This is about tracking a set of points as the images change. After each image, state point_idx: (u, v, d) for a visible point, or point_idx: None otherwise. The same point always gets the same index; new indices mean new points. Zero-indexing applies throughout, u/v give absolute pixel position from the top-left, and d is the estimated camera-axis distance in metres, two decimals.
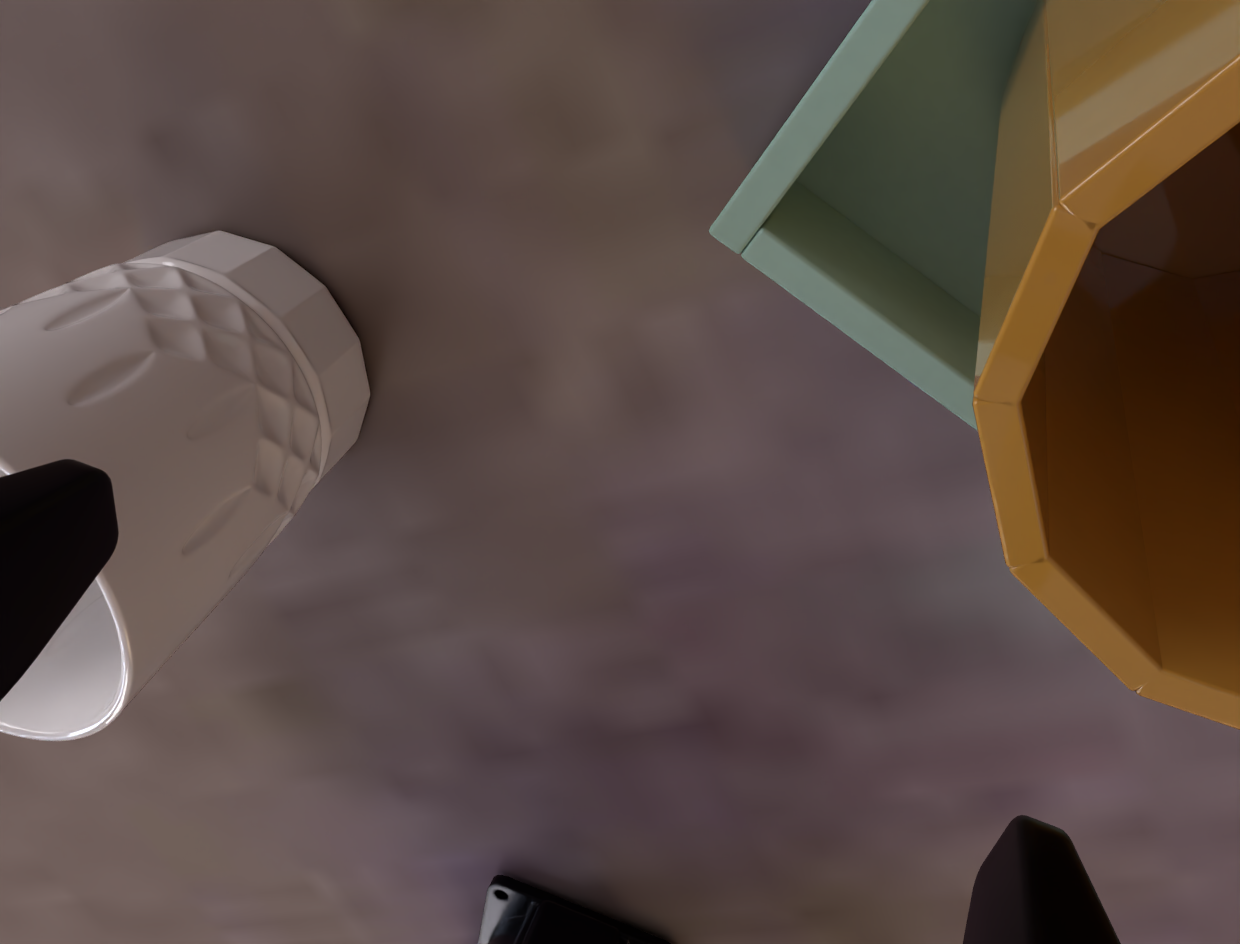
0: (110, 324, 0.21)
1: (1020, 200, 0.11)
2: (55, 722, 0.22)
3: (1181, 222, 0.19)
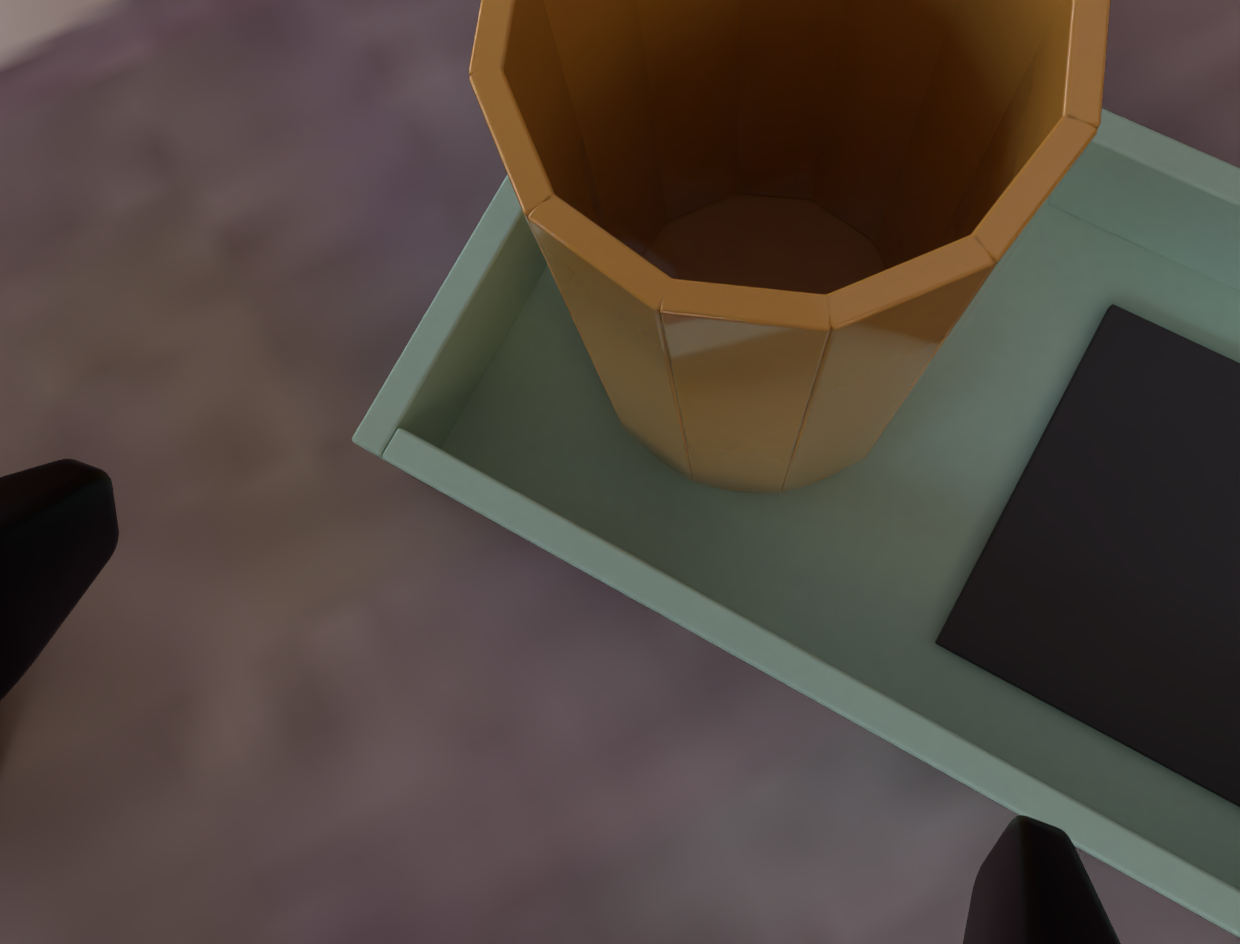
0: None
1: None
2: None
3: None
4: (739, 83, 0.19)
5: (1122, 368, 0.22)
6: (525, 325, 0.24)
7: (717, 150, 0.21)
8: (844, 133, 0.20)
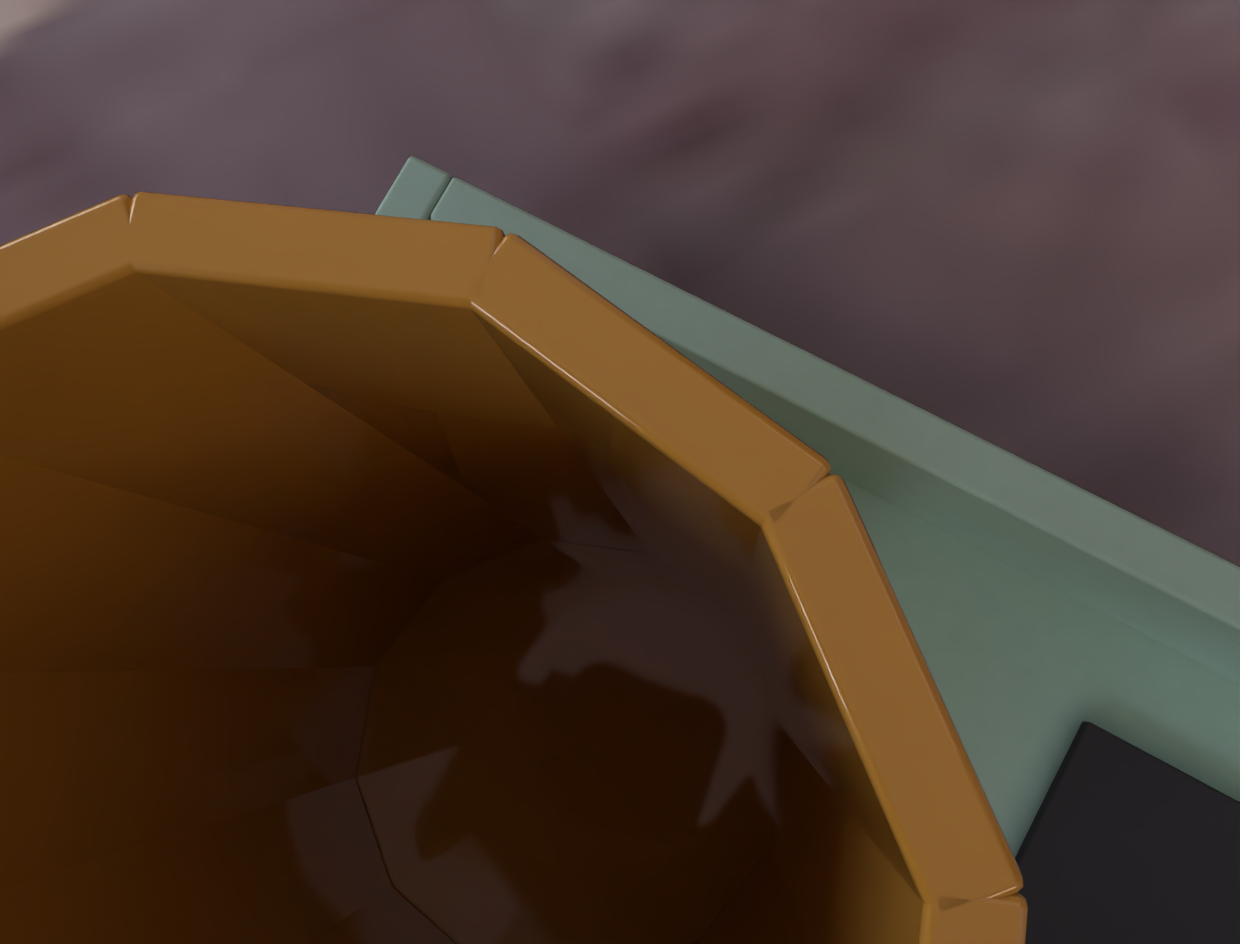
0: None
1: None
2: None
3: (557, 909, 0.15)
4: (472, 492, 0.12)
5: (1103, 825, 0.15)
6: None
7: (479, 531, 0.14)
8: (656, 545, 0.12)
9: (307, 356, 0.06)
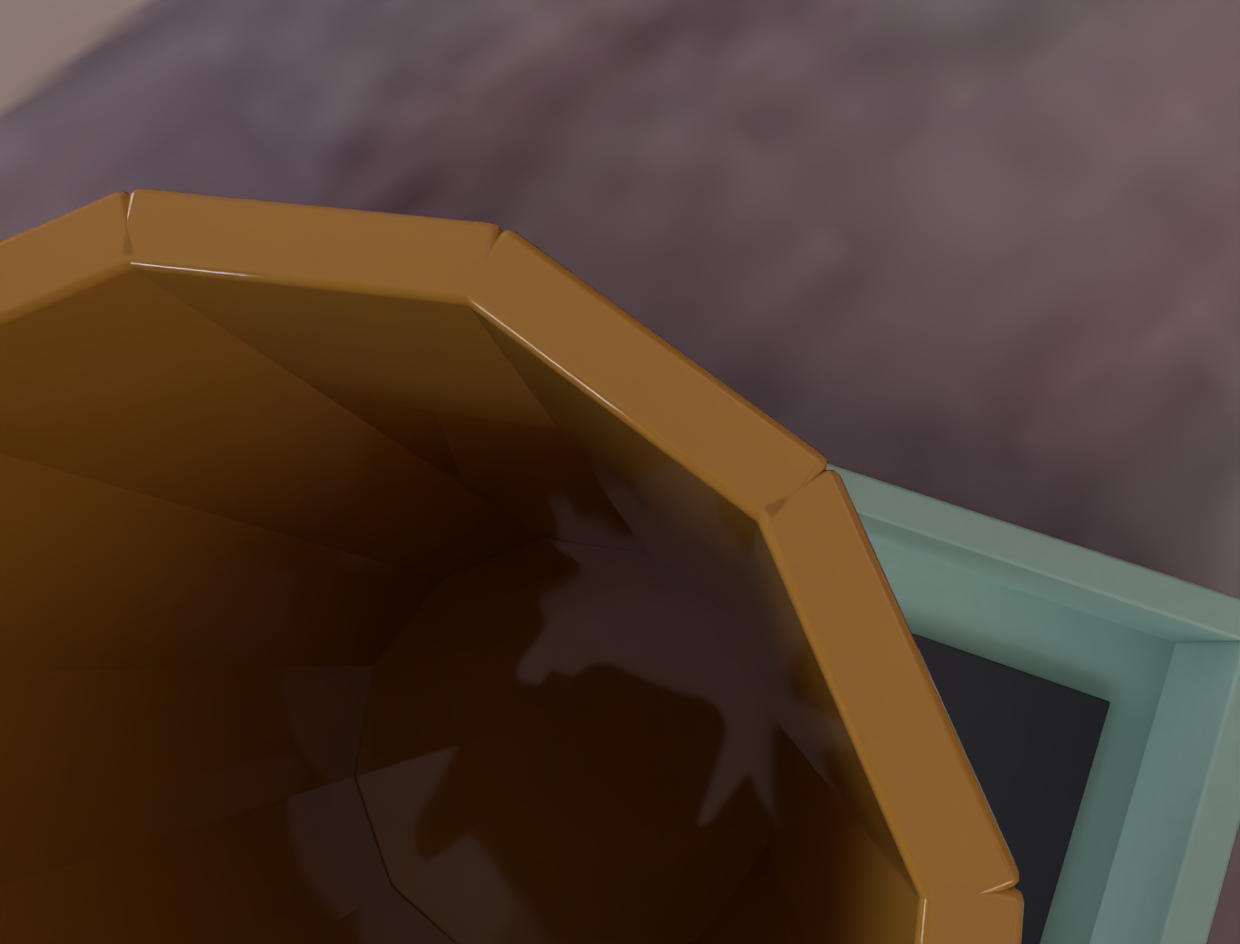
0: None
1: None
2: None
3: (557, 908, 0.15)
4: (471, 491, 0.12)
5: None
6: None
7: (478, 530, 0.14)
8: (655, 544, 0.13)
9: (304, 352, 0.06)
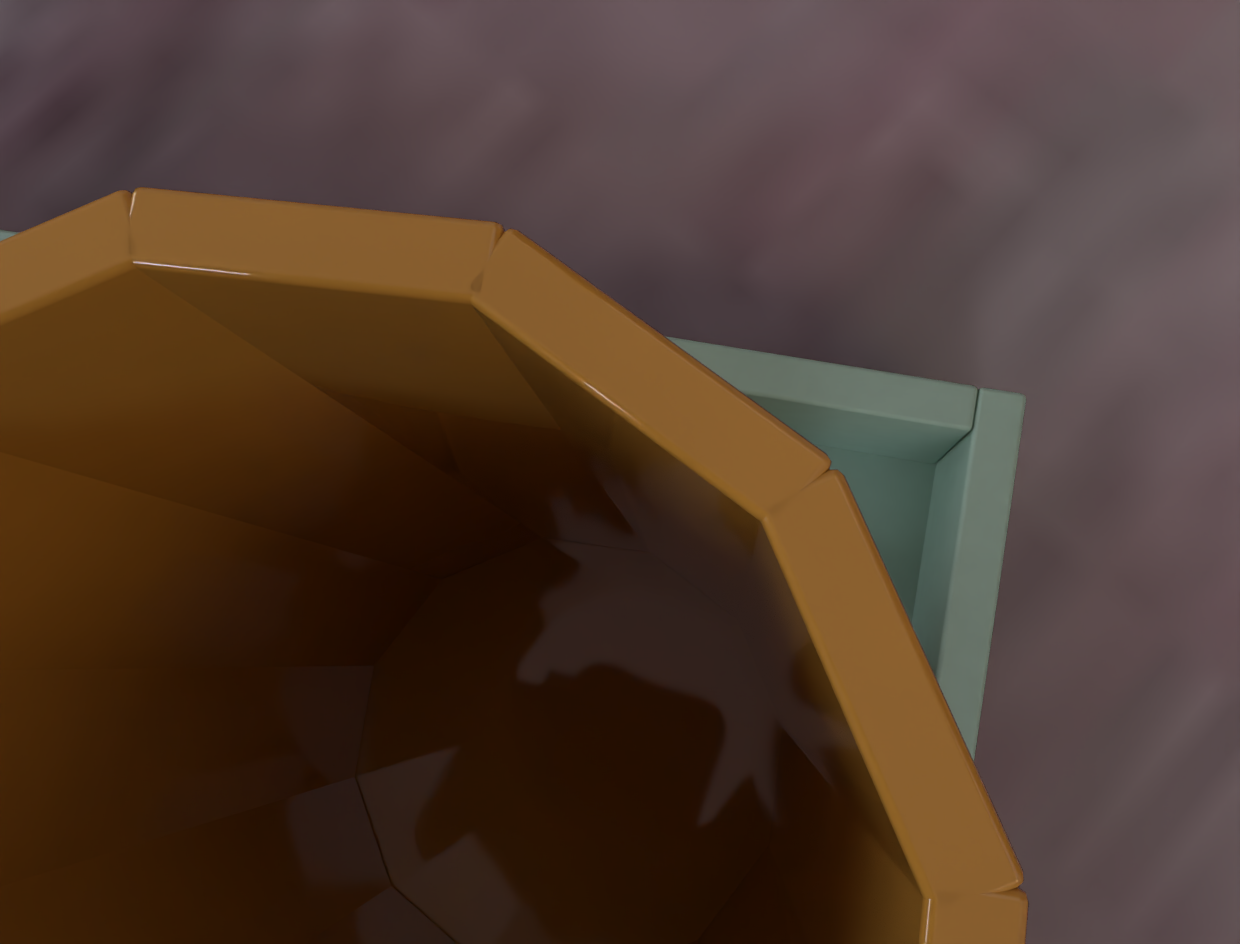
0: None
1: None
2: None
3: (557, 908, 0.15)
4: (472, 490, 0.12)
5: None
6: None
7: (479, 530, 0.14)
8: (656, 544, 0.12)
9: (307, 352, 0.06)
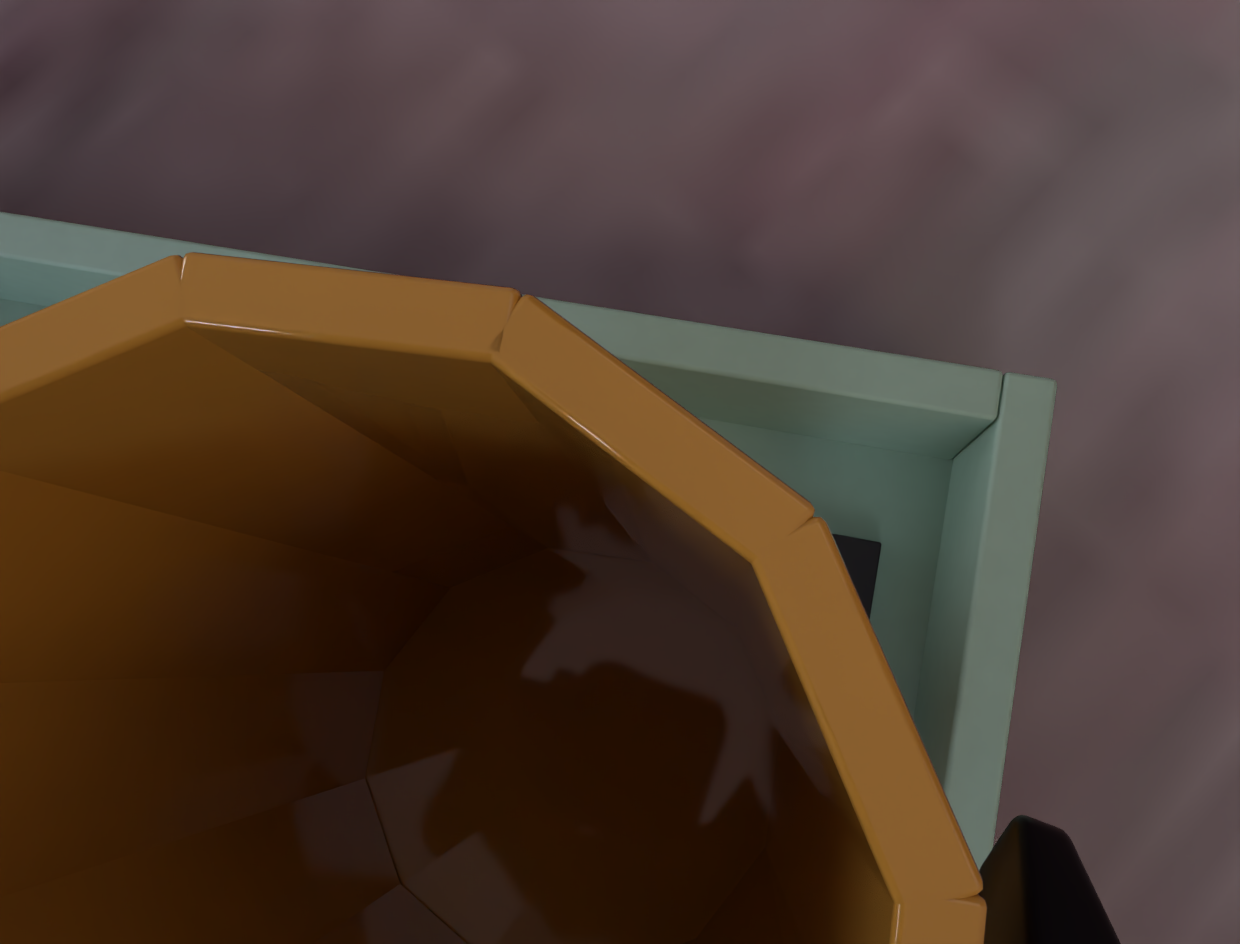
0: None
1: None
2: None
3: (560, 907, 0.16)
4: (482, 507, 0.12)
5: None
6: None
7: (488, 541, 0.14)
8: (658, 558, 0.13)
9: (334, 395, 0.07)
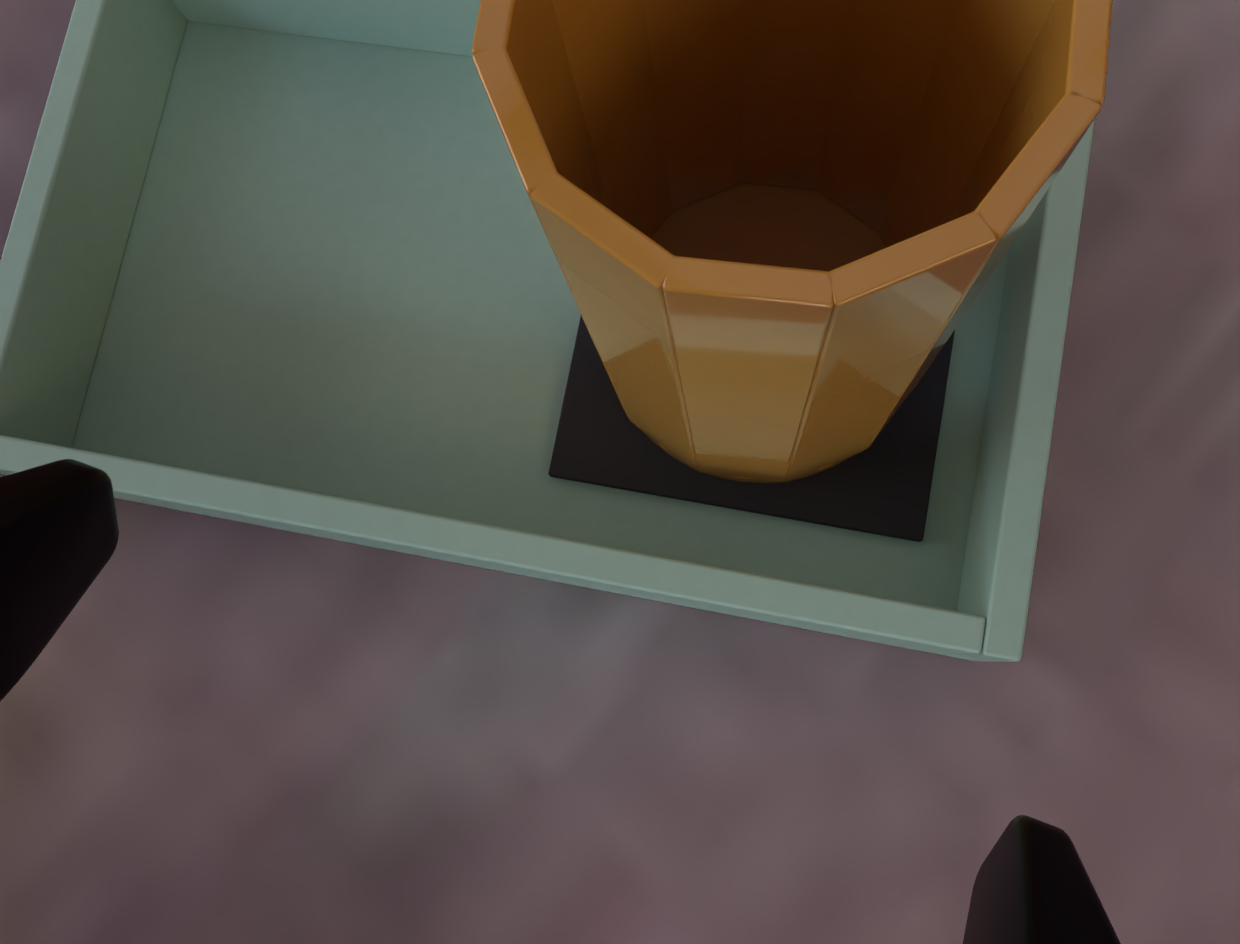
0: None
1: None
2: None
3: None
4: (743, 70, 0.19)
5: None
6: (118, 318, 0.26)
7: (721, 138, 0.21)
8: (848, 121, 0.20)
9: None
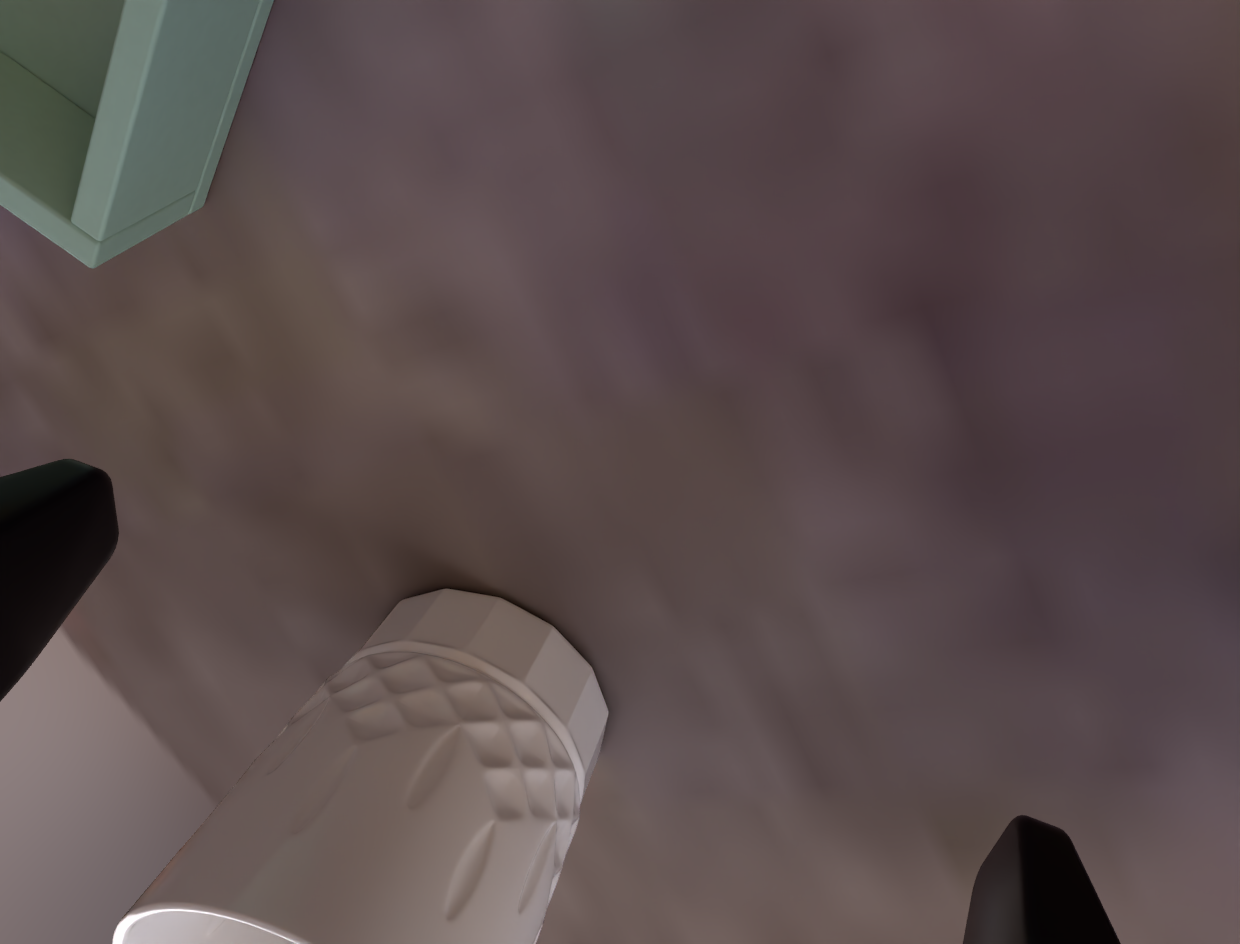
0: None
1: None
2: None
3: None
4: None
5: None
6: (31, 59, 0.22)
7: None
8: None
9: None
